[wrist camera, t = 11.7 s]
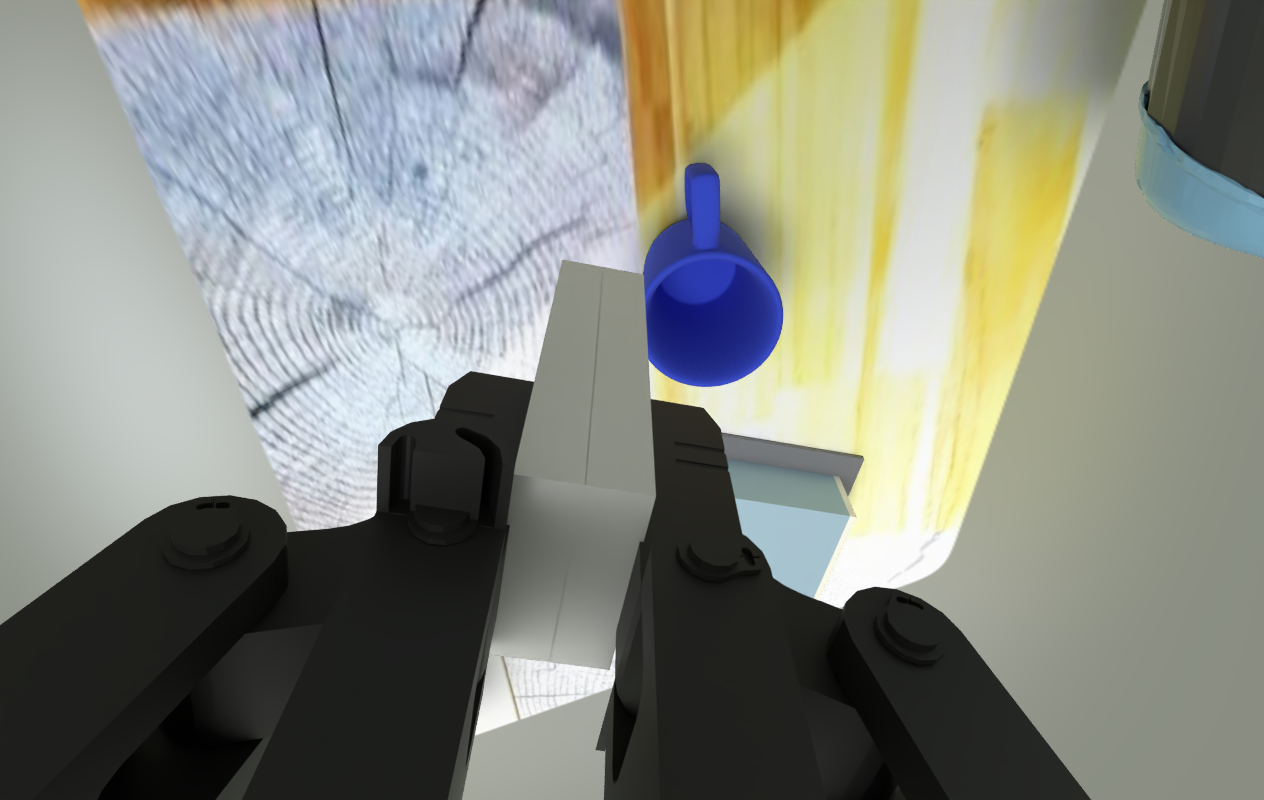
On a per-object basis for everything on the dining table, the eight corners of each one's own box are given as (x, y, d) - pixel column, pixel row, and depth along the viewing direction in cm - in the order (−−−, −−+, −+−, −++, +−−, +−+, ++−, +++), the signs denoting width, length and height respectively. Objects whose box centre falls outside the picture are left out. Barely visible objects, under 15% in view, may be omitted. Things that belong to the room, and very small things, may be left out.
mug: (758, 135, 45) (789, 172, 36) (755, 314, 51) (781, 383, 42) (625, 145, 45) (625, 184, 36) (638, 322, 51) (641, 392, 42)
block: (619, 575, 56) (817, 604, 57) (643, 483, 51) (856, 517, 53) (620, 533, 60) (804, 560, 62) (642, 444, 56) (839, 476, 57)
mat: (538, 536, 61) (537, 539, 60) (560, 406, 54) (560, 409, 54) (810, 576, 63) (811, 579, 63) (862, 456, 57) (864, 459, 57)
